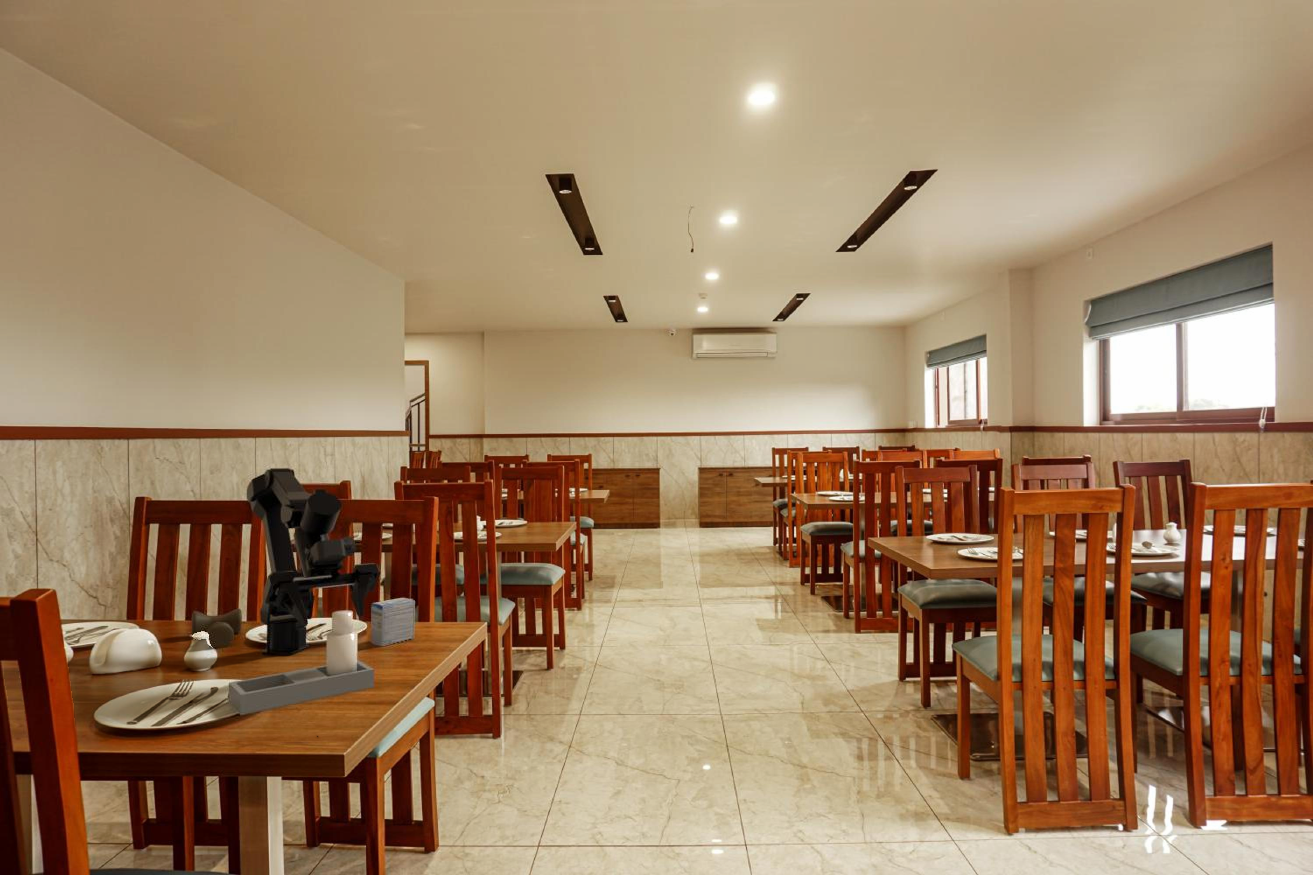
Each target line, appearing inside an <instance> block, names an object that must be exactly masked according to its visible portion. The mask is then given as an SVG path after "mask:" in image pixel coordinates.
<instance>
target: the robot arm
mask: <svg viewBox="0 0 1313 875" xmlns="http://www.w3.org/2000/svg"><path fill="white" fill-rule="evenodd" d="M295 474H296V473H295V471H294V469H291V468H289V467H285V468H283V467H278V468H277V467H273V468H271V467H270V468H268V469H266V470H265V472H264V473H262V474H261V475H259V476H255V477H253V478H252V479H251V480H250V482H249V483H248V485H247V487H246V500H247V502H248V503H249V504H250V508H251V512H252V513H253V514H254V515H255V516H256V517H258V518H259V519H260V520H261V521H262V527H263V531H264V539H265V543H266V549H267V555H268V561H269V566H270V573H269V575H267V578H266V581H265V584H264V587H263V593H262V594H263V601H262V604H261V606H260V610H259V616H260V622H261V623H262V624H264V625H265V626H266V648H265V649H264V650H261V653H260V654H261V655H283V656H284V655H286V656H287V655H289V656H290V655H294V654H295V653H298V652H300V651H303V650H305V649H307V648H309V647H310V645H309V644H307V626H308V624H309V620H312V616H313V611H314V602H315V599H316V596H315V595H314V592H313V590H312V589H316V590H317V589H323V588H324V589H326V588H334V587H344V586H348V587H349V590H350V591H351V593H350V597H351V598H350V599H351V600H352V605H353V607H354V609H355V610H354V611H355V613H356V616H357V617H358V619H362V618H363V616H364V609H365V598H366V596H367V595H368V594H369V593H370V592H371V591H373V590H374V589H375V587H376V584H377V582H378V579H379V578H380V576H381V570H380V566H379V565H378V564H377V563H374V562H371V563H369V562H368V563H357V564H354V567H353V570H352V572H349V573H340V571H339V570H342V569H343V566H344V563H343V560H344V559H346V558H347V557H352V556H353V555H354V554H355V553H356V543H355V540H354V537H353V536H344V537H341V539H340V538H338V539H337V538H336V539H330V537H329V534H330V533H331V532H333V529H334V527H335V525H336V522H337V520H338V517H339V515H340V514H339V513H340V511H341V509H342V501H341V500H340V499H339V498H338V497H337V496H335V495H333V494H332V493H329V492H327V490H326V488H314V489H313V492H312V493H309V492H307V491H306V490H305V489H304V487H303V485H302V484H301V482H300V481H299V480H298V479H297V478H296V475H295ZM289 529H290V530H291V529H296V530H294V533H293V539H294V544H293V543H292V540H291V535H290V534H291V533H290V530H289ZM292 544H293V545H294V549H296V551H297V556H298V559H299V566H298V568H299V570H298V569H297V565H296V561H295V555H294V550H293V545H292Z"/></svg>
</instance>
